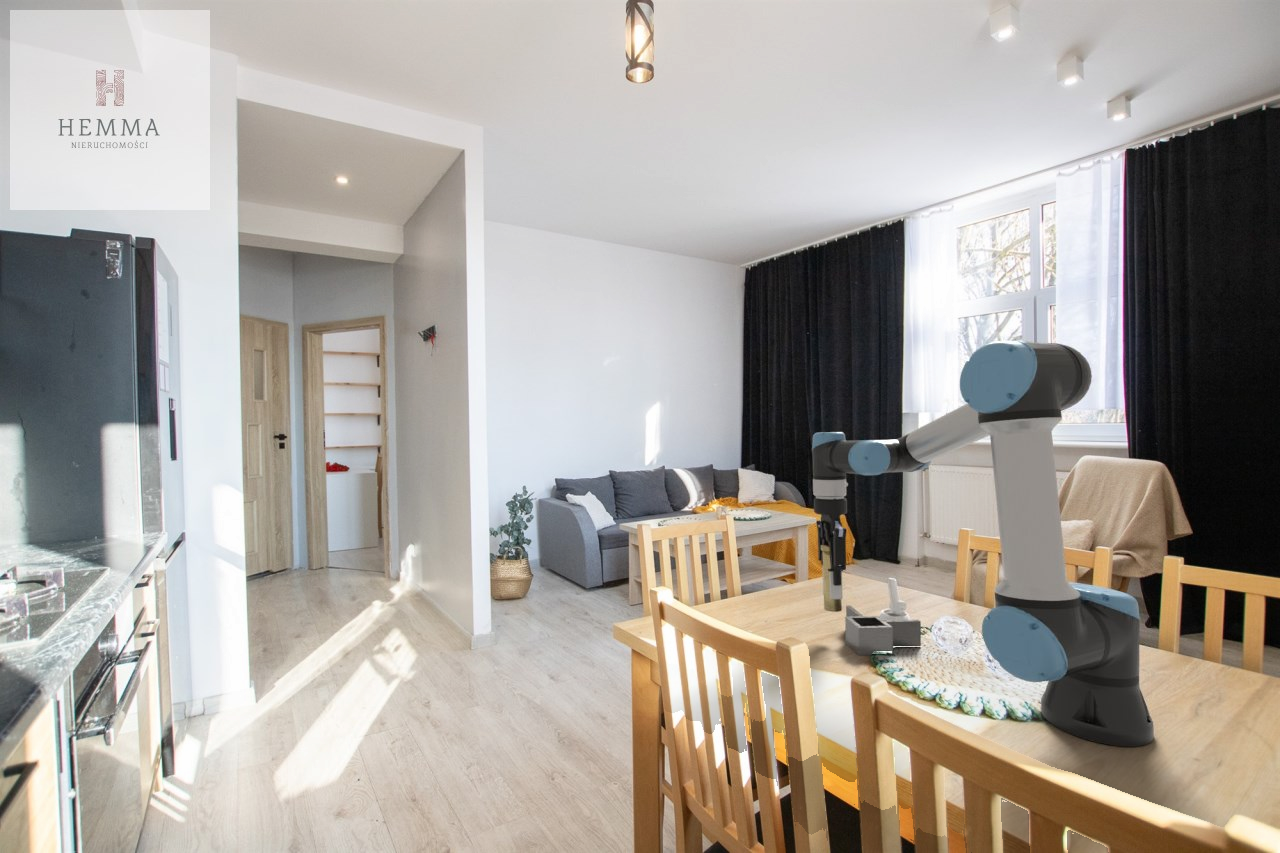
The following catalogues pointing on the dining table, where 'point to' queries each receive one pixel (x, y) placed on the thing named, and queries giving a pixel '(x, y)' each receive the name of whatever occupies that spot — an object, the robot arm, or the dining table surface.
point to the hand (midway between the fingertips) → (832, 595)
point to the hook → (894, 604)
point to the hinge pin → (828, 583)
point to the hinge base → (879, 632)
